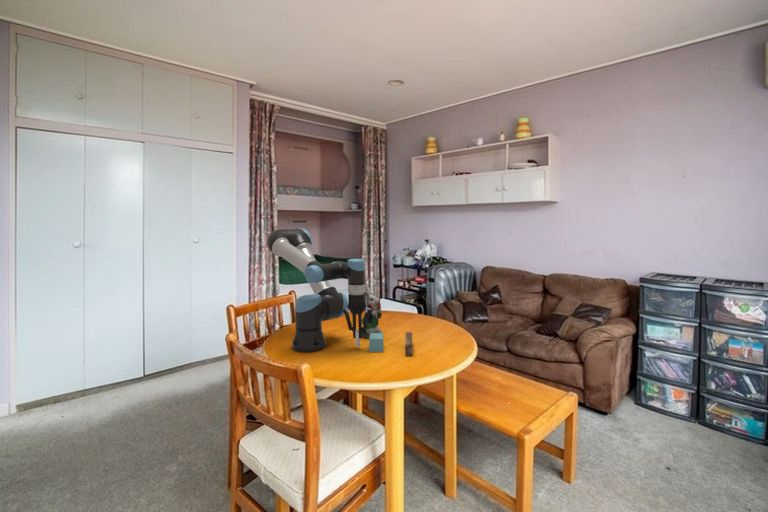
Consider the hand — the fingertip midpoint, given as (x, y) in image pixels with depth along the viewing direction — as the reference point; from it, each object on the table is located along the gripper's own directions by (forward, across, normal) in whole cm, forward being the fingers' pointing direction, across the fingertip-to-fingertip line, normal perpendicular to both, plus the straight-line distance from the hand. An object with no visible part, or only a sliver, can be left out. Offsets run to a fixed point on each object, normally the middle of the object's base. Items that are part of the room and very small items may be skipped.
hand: (357, 345), depth 178 cm
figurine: (+2, +4, +19) cm, 20 cm away
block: (+2, +8, 0) cm, 9 cm away
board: (+2, +23, 0) cm, 23 cm away
